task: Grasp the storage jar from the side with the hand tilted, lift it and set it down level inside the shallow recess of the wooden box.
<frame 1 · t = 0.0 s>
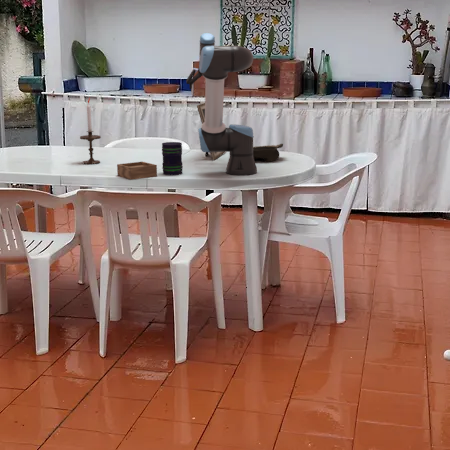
hand: (204, 93, 403), 36 cm above the table, tool tilted 35°, fingers open, 13 cm apart
wooden box: (137, 175, 361), on the table
picture frame: (212, 156, 422), on the table
candlestick: (91, 163, 402), on the table
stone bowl: (260, 160, 407), on the table
storage jar: (172, 174, 367), on the table
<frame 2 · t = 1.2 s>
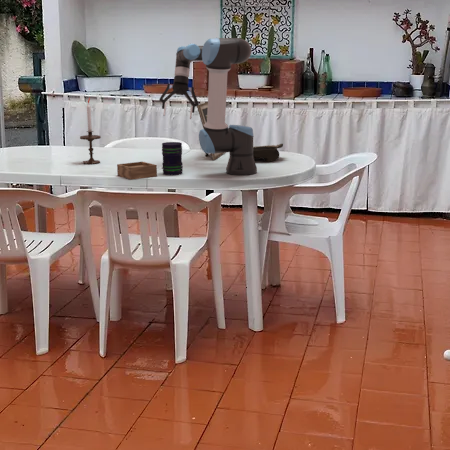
hand: (177, 117, 383), 25 cm above the table, tool tilted 20°, fingers open, 13 cm apart
nothing on the table moved.
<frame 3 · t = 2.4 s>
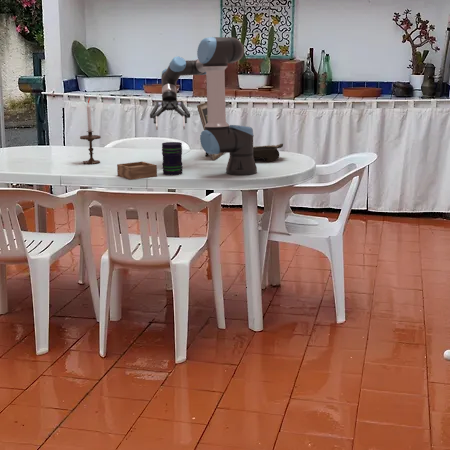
hand: (170, 128, 373), 21 cm above the table, tool tilted 45°, fingers open, 13 cm apart
nothing on the table moved.
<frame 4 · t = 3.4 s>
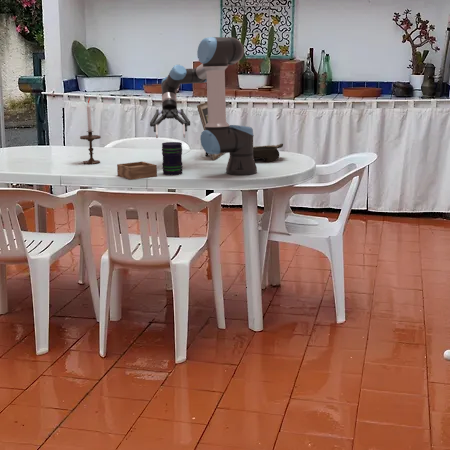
hand: (170, 136, 372), 17 cm above the table, tool tilted 45°, fingers open, 13 cm apart
nothing on the table moved.
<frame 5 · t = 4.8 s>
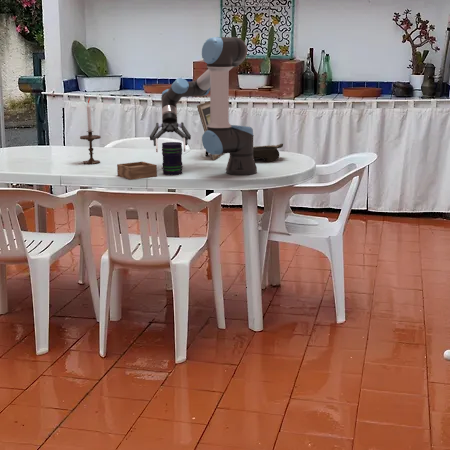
hand: (170, 150, 366), 11 cm above the table, tool tilted 45°, fingers open, 13 cm apart
nothing on the table moved.
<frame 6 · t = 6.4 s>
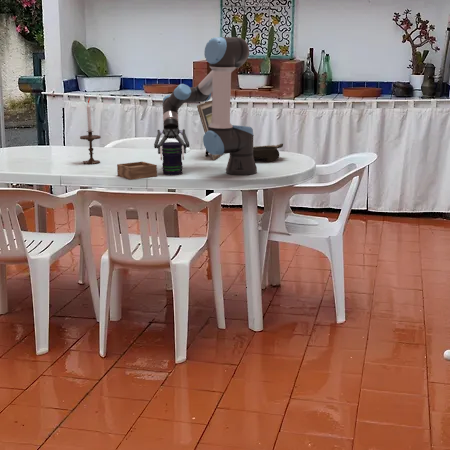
hand: (172, 158, 362), 8 cm above the table, tool tilted 45°, fingers closed on storage jar, 10 cm apart
storage jar: (172, 173, 367), on the table, touching gripper
everything else where it was.
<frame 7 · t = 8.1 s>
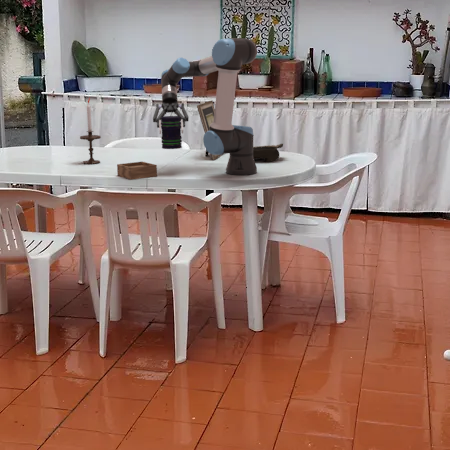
hand: (171, 131, 359), 21 cm above the table, tool tilted 45°, fingers closed on storage jar, 10 cm apart
storage jar: (171, 148, 364), point 13 cm above the table, touching gripper
everything else where it was.
when the fingers open (13 cm above the table, at t = 11.9 s): storage jar drops 1 cm, resting on wooden box.
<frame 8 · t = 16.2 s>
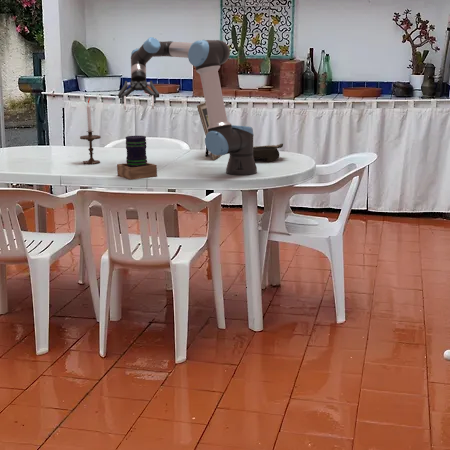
hand: (139, 107, 366), 32 cm above the table, tool tilted 45°, fingers open, 13 cm apart
storage jar: (137, 168, 361), point 4 cm above the table, touching wooden box
everything else where it was.
at the end: storage jar 0.1 cm off-centre on the wooden box, point 3.8 cm above the wooden box's base; storage jar tilted 0°; the gripper is holding nothing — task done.
